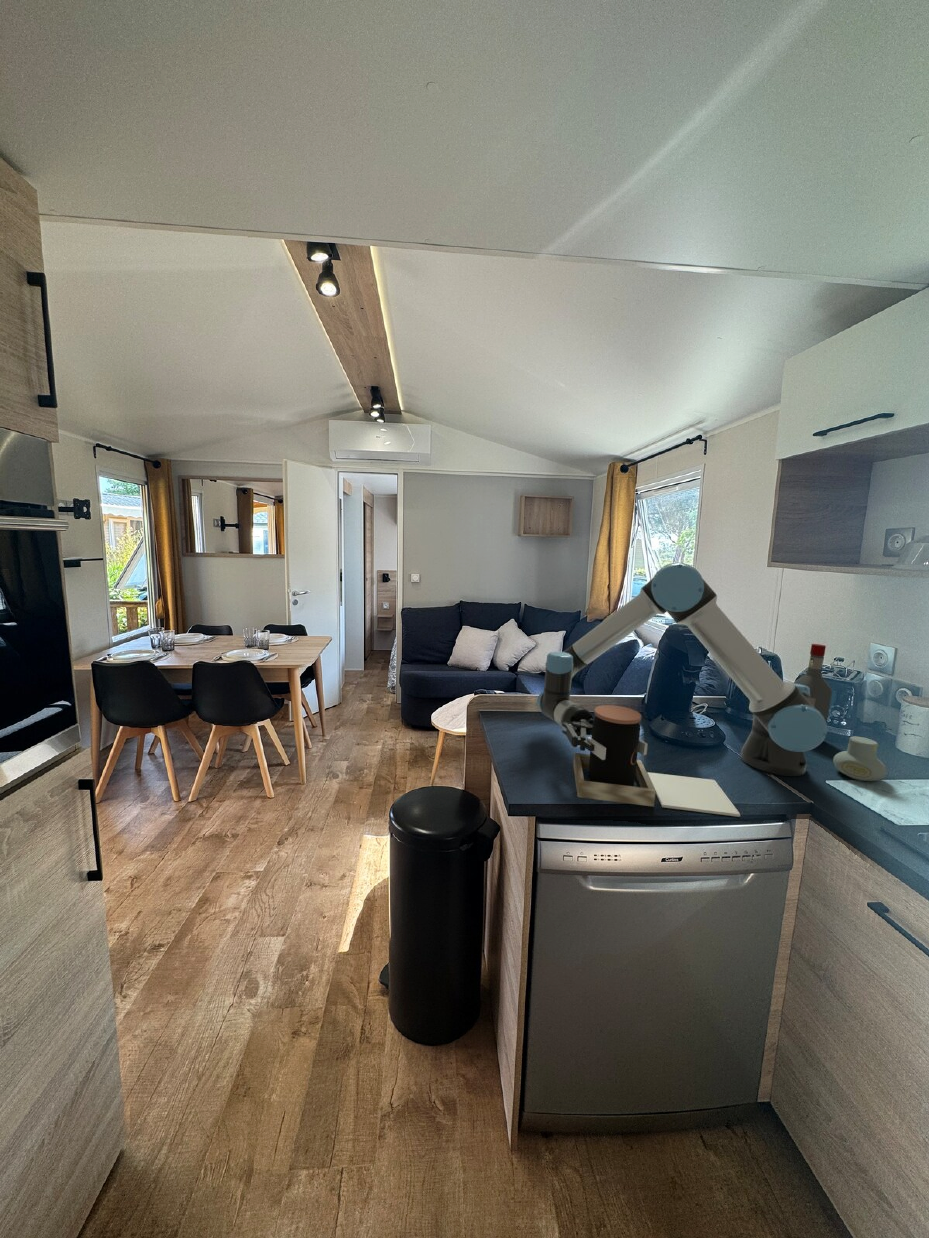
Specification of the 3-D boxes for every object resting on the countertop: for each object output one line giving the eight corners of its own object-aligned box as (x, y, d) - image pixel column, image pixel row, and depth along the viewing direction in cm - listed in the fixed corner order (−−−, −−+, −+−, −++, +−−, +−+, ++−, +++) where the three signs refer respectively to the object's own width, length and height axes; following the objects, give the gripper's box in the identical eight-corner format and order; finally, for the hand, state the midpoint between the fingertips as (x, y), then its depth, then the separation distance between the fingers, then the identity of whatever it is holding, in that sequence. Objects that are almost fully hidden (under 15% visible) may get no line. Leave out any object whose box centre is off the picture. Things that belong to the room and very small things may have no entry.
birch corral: (639, 773, 123) (640, 760, 123) (653, 806, 107) (655, 791, 107) (573, 765, 126) (574, 752, 125) (577, 797, 110) (579, 782, 109)
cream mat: (714, 782, 121) (714, 779, 120) (739, 816, 105) (740, 814, 105) (646, 774, 123) (647, 772, 123) (662, 807, 107) (662, 804, 107)
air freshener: (886, 779, 127) (893, 743, 126) (881, 789, 122) (888, 751, 120) (835, 764, 135) (841, 730, 134) (828, 772, 130) (834, 737, 128)
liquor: (804, 732, 160) (819, 642, 155) (828, 743, 151) (845, 648, 146) (779, 732, 159) (793, 641, 154) (802, 743, 150) (818, 647, 145)
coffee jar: (636, 798, 110) (645, 722, 108) (588, 791, 112) (595, 717, 110) (630, 777, 121) (638, 707, 118) (586, 771, 123) (593, 702, 120)
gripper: (608, 728, 136) (664, 762, 116) (534, 734, 129) (580, 772, 108) (611, 702, 135) (668, 732, 115) (536, 707, 128) (583, 740, 107)
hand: (625, 751), depth 111 cm, fingers closed on coffee jar, 11 cm apart
